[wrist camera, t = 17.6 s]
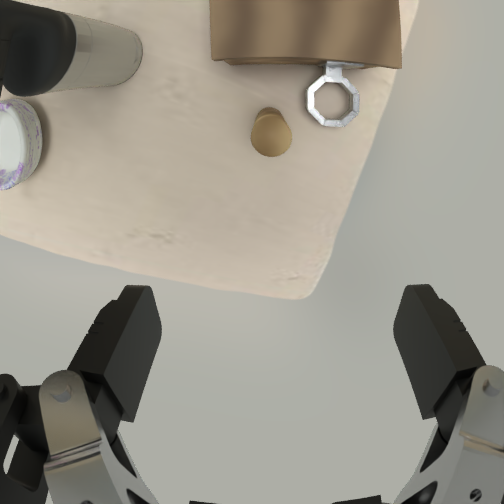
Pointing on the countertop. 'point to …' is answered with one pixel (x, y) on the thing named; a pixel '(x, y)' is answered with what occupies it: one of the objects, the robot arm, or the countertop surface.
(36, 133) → the paper bowls
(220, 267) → the countertop surface
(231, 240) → the countertop surface
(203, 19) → the countertop surface
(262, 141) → the tan wooden cylinder
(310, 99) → the hasp
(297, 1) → the toolbox
